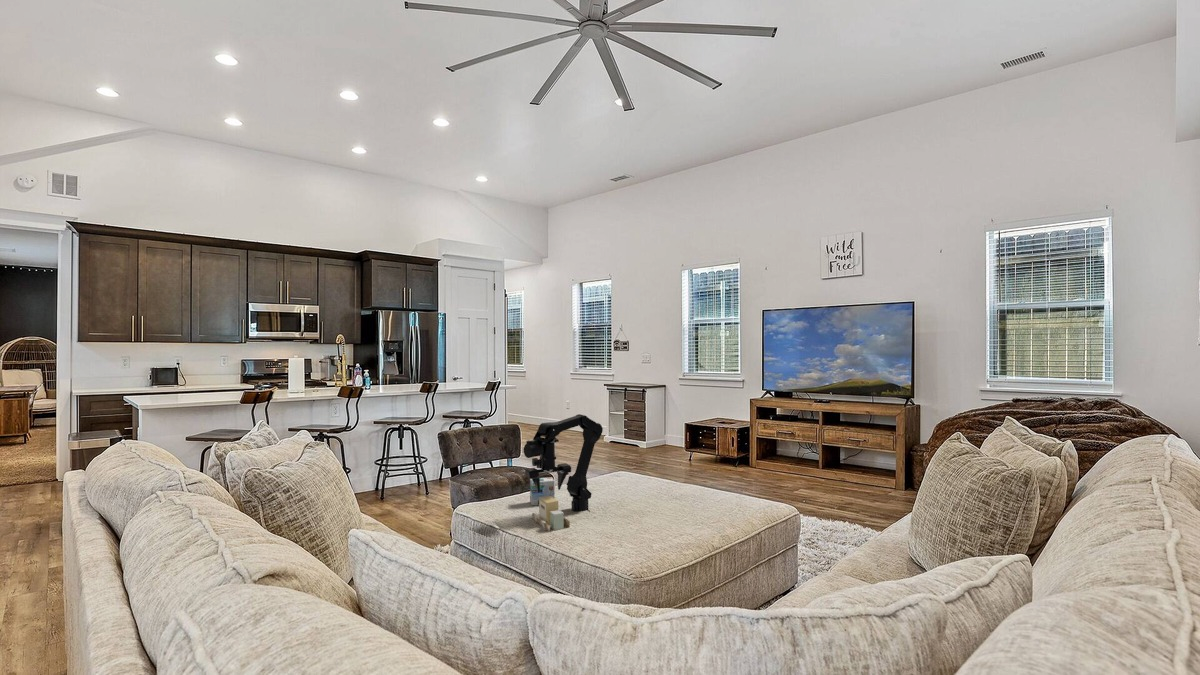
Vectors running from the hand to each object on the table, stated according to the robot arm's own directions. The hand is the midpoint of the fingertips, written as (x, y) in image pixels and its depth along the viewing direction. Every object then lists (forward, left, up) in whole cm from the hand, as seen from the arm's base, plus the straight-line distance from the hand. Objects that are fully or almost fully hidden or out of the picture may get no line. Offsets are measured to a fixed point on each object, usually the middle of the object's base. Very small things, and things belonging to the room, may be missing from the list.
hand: (548, 491), depth 247 cm
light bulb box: (-6, -24, -13) cm, 28 cm away
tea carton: (+2, +3, -11) cm, 12 cm away
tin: (+2, +13, -11) cm, 17 cm away
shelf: (+2, +6, -12) cm, 14 cm away
